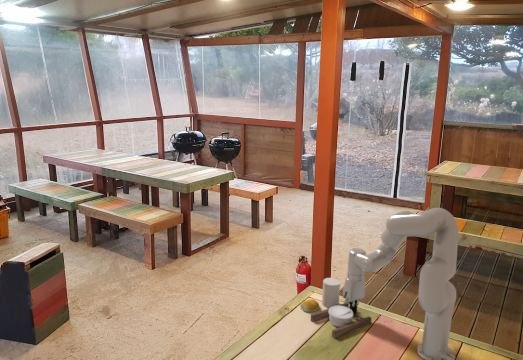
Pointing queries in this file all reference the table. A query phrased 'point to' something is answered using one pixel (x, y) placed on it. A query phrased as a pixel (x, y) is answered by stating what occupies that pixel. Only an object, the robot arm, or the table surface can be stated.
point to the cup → (330, 292)
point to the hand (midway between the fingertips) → (352, 312)
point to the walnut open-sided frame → (347, 327)
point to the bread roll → (309, 305)
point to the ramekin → (340, 315)
